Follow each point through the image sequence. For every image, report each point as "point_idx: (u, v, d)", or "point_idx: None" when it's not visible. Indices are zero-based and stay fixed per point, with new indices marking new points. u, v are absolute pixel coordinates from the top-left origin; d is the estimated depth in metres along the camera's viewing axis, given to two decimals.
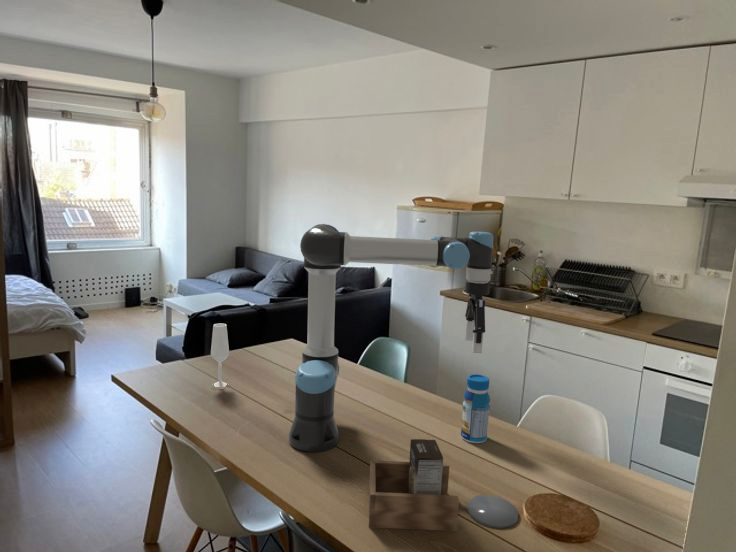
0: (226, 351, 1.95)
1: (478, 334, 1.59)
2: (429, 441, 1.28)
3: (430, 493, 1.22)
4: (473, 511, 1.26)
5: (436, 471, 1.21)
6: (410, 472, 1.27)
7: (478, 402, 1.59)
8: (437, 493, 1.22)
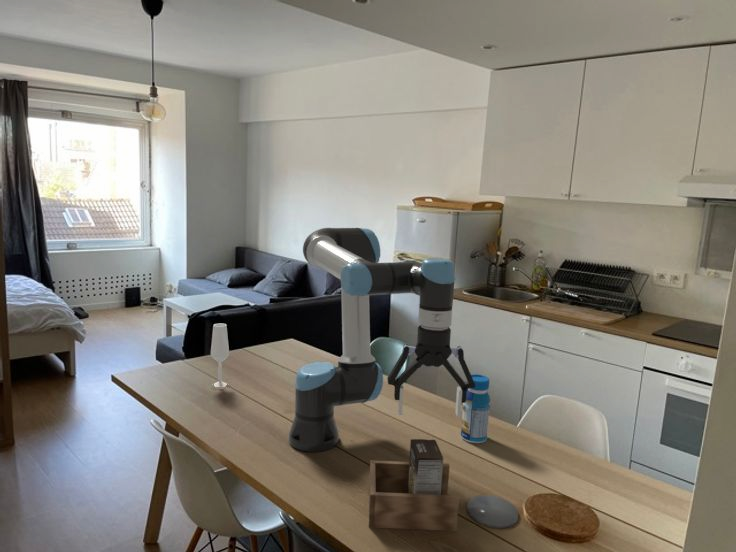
0: (226, 351, 1.95)
1: None
2: (429, 441, 1.28)
3: (430, 493, 1.22)
4: (473, 511, 1.26)
5: (436, 471, 1.21)
6: (410, 472, 1.27)
7: (478, 402, 1.59)
8: (437, 493, 1.22)
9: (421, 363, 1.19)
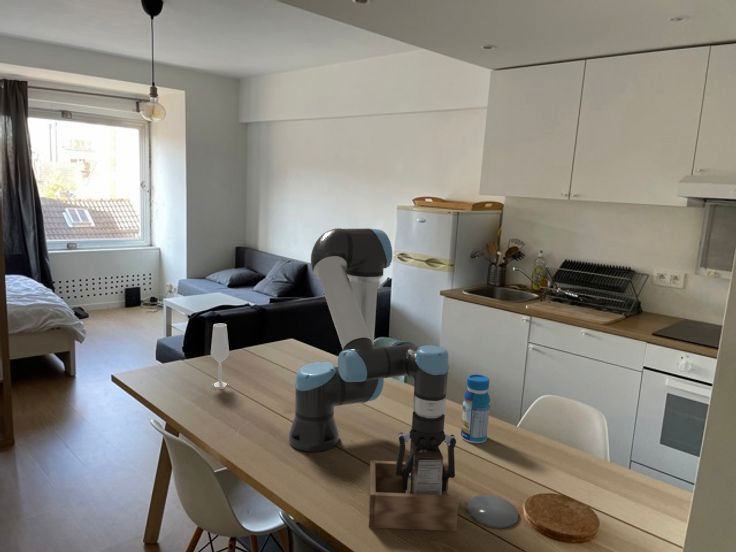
0: (226, 351, 1.95)
1: (402, 476, 1.26)
2: None
3: (430, 493, 1.22)
4: (473, 511, 1.26)
5: (436, 471, 1.21)
6: (410, 472, 1.27)
7: (478, 402, 1.59)
8: (437, 493, 1.22)
9: (419, 450, 1.23)
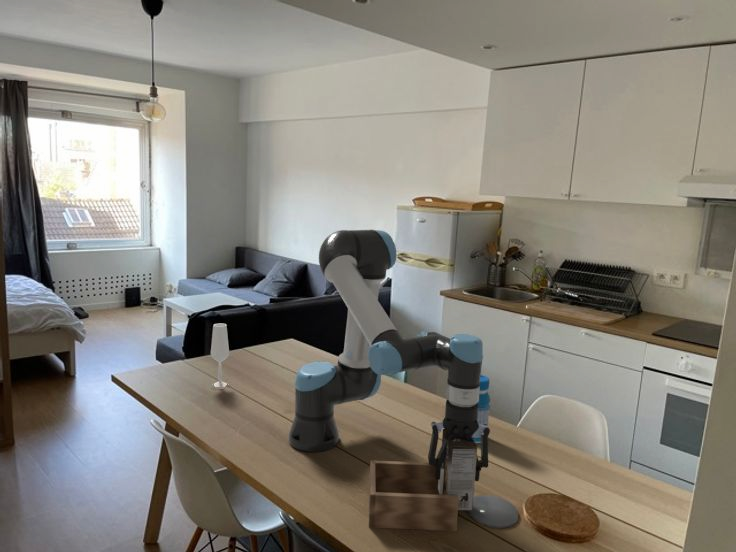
0: (226, 351, 1.95)
1: (435, 466, 1.25)
2: None
3: (464, 483, 1.21)
4: (473, 511, 1.26)
5: (470, 460, 1.20)
6: None
7: (478, 402, 1.59)
8: (471, 482, 1.21)
9: (452, 439, 1.22)
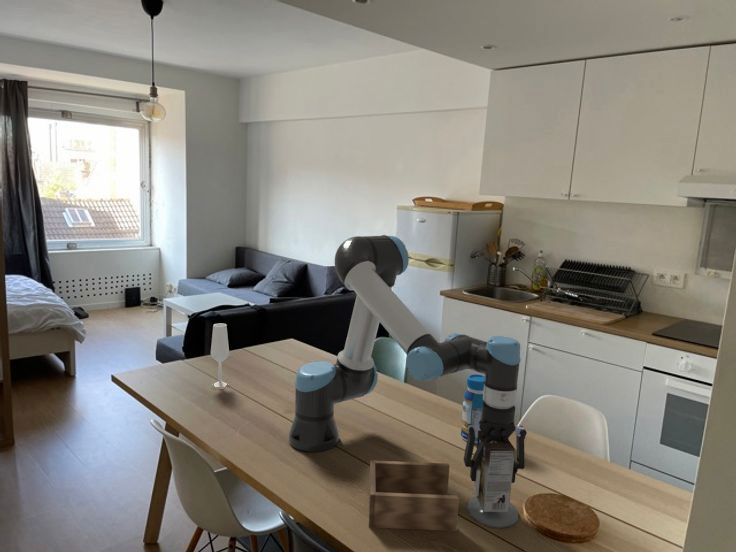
0: (226, 351, 1.95)
1: None
2: None
3: (501, 484, 1.21)
4: (473, 511, 1.26)
5: (508, 462, 1.20)
6: None
7: (478, 402, 1.59)
8: (508, 484, 1.21)
9: (489, 441, 1.22)
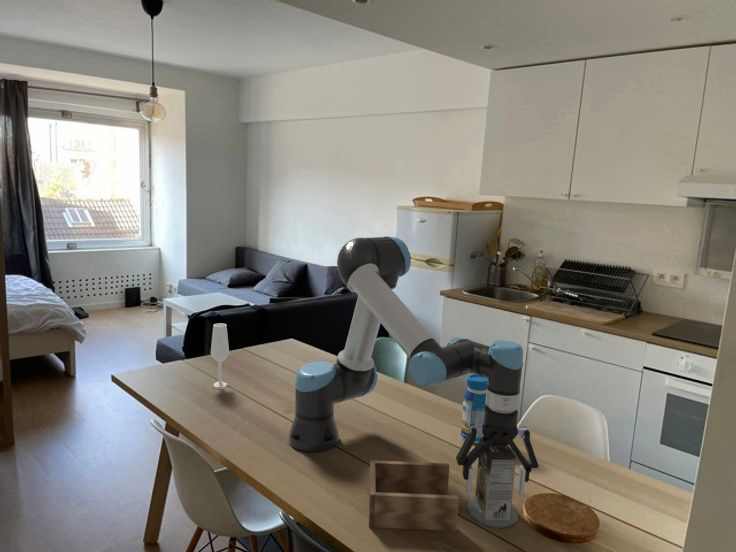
0: (226, 351, 1.95)
1: (463, 466, 1.25)
2: None
3: (502, 493, 1.22)
4: (473, 511, 1.26)
5: (509, 470, 1.21)
6: (480, 471, 1.27)
7: (478, 402, 1.59)
8: (509, 493, 1.22)
9: (489, 444, 1.22)
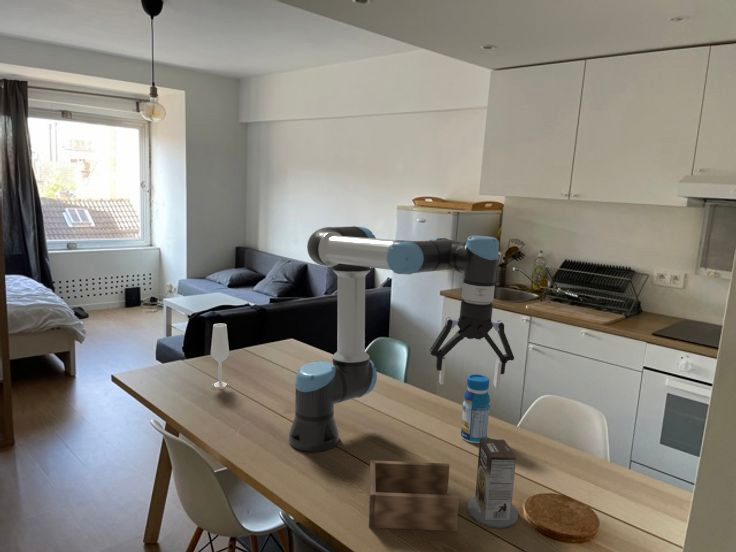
0: (226, 351, 1.95)
1: None
2: (498, 441, 1.28)
3: (502, 493, 1.22)
4: (473, 511, 1.26)
5: (509, 470, 1.21)
6: (480, 471, 1.27)
7: (478, 402, 1.59)
8: (509, 493, 1.22)
9: (464, 335, 1.25)
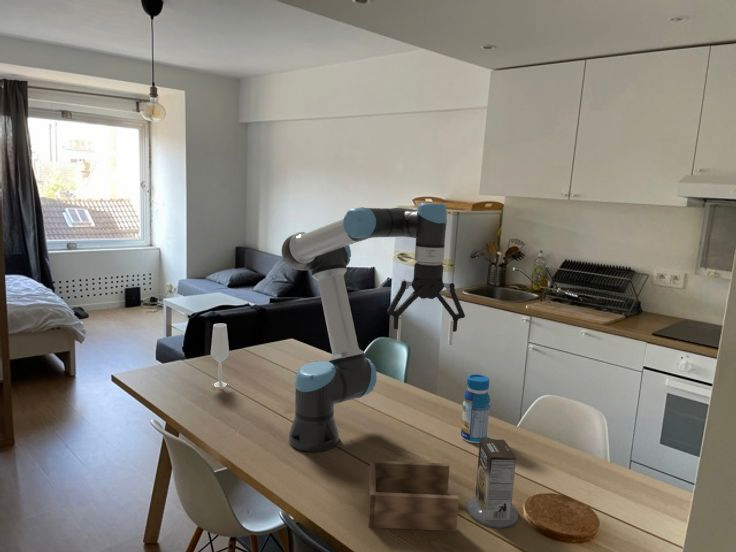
0: (226, 351, 1.95)
1: None
2: (498, 441, 1.28)
3: (502, 493, 1.22)
4: (473, 511, 1.26)
5: (509, 470, 1.21)
6: (480, 471, 1.27)
7: (478, 402, 1.59)
8: (509, 493, 1.22)
9: (417, 295, 1.35)
